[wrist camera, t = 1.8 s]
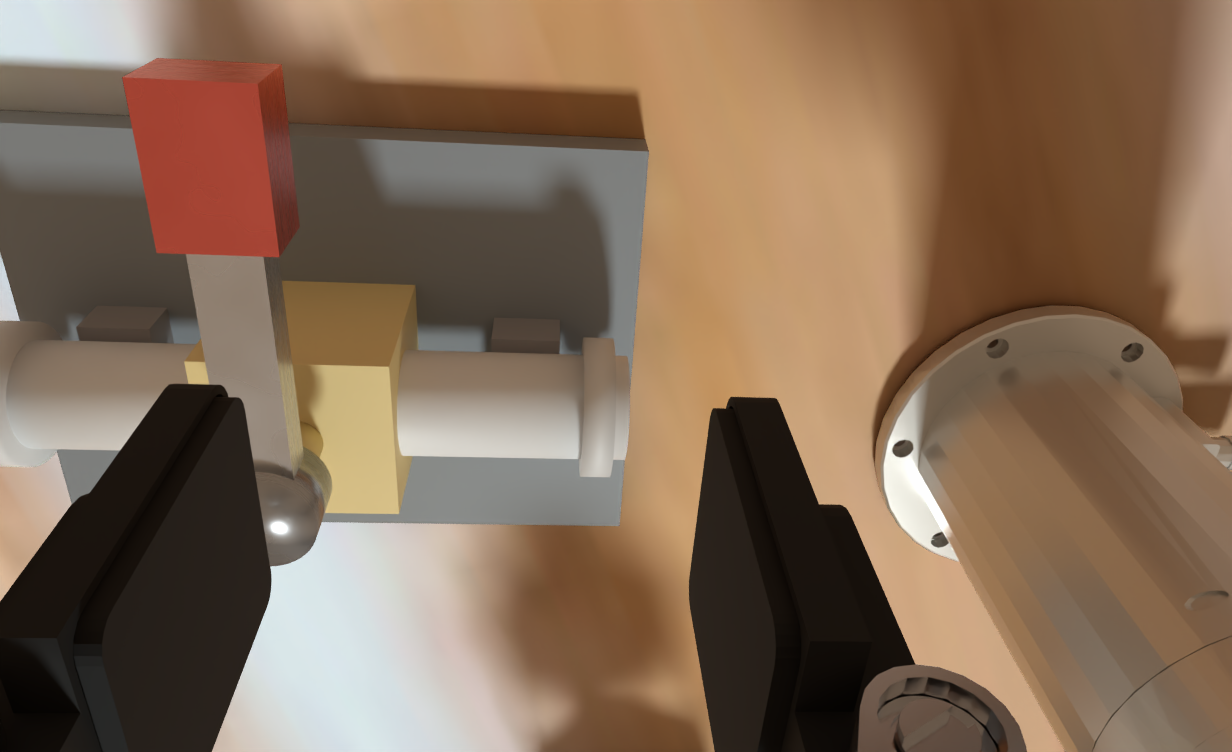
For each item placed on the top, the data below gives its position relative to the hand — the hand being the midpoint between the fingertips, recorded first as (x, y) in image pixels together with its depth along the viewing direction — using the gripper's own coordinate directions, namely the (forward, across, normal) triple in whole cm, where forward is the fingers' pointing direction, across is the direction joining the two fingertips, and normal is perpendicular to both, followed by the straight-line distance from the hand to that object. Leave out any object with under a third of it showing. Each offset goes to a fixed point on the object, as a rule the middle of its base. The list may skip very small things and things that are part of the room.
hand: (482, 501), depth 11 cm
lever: (+14, +7, +5) cm, 16 cm away
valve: (+23, +7, +10) cm, 26 cm away
